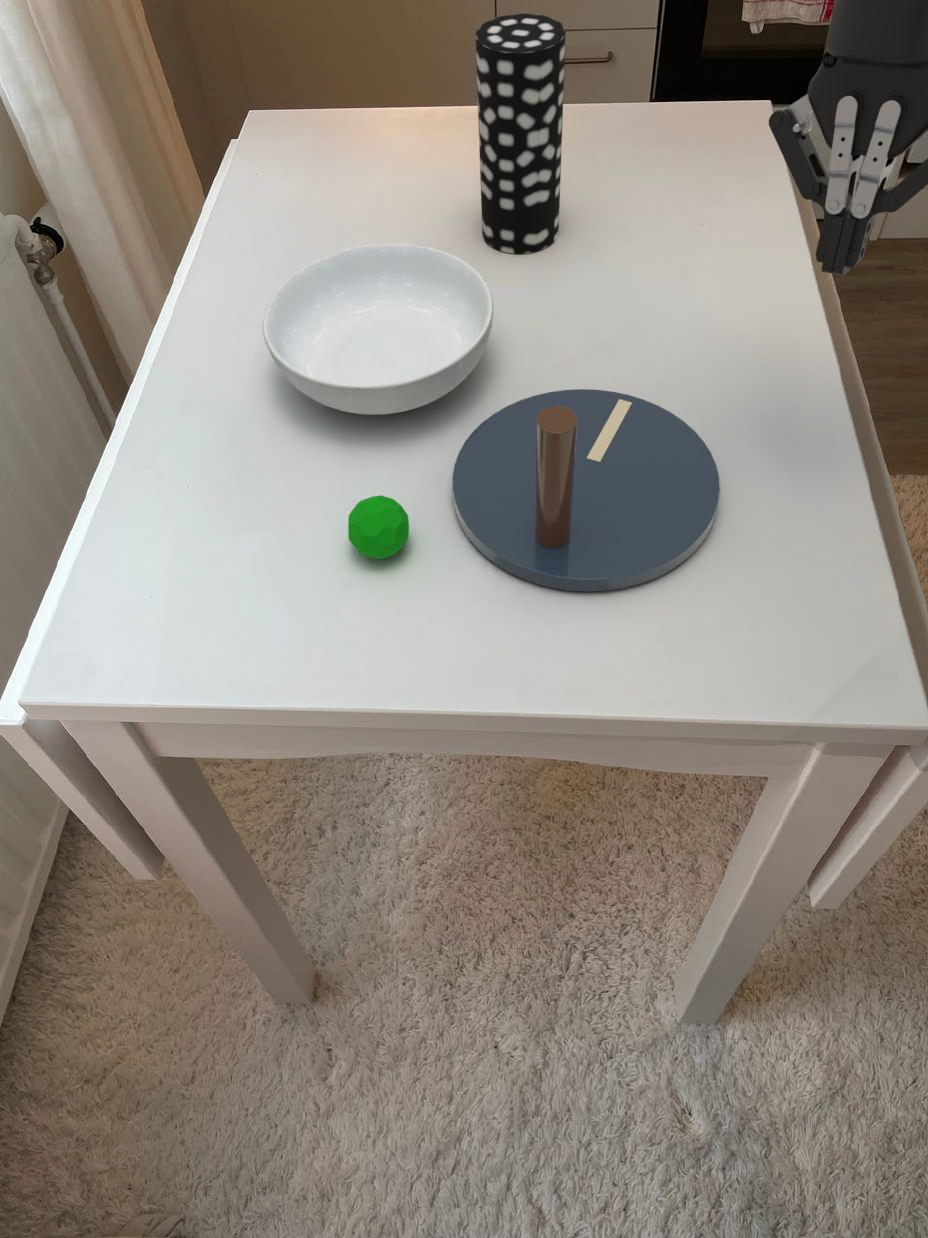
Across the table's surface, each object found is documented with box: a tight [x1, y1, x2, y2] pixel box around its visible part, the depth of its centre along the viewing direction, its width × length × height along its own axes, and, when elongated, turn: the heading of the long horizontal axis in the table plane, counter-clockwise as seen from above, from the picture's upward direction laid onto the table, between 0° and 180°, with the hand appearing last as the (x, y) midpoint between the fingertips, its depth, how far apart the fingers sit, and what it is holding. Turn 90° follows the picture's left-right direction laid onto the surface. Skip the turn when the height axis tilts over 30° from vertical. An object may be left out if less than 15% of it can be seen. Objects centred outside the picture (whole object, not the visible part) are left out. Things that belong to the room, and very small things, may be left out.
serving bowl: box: [262, 242, 494, 416], centre depth 88 cm, size 21×21×7 cm
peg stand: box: [452, 388, 721, 592], centre depth 75 cm, size 22×22×14 cm
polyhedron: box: [347, 494, 410, 560], centre depth 76 cm, size 5×5×5 cm
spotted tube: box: [475, 13, 567, 255], centre depth 96 cm, size 8×8×20 cm
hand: (836, 270), depth 65 cm, fingers closed
